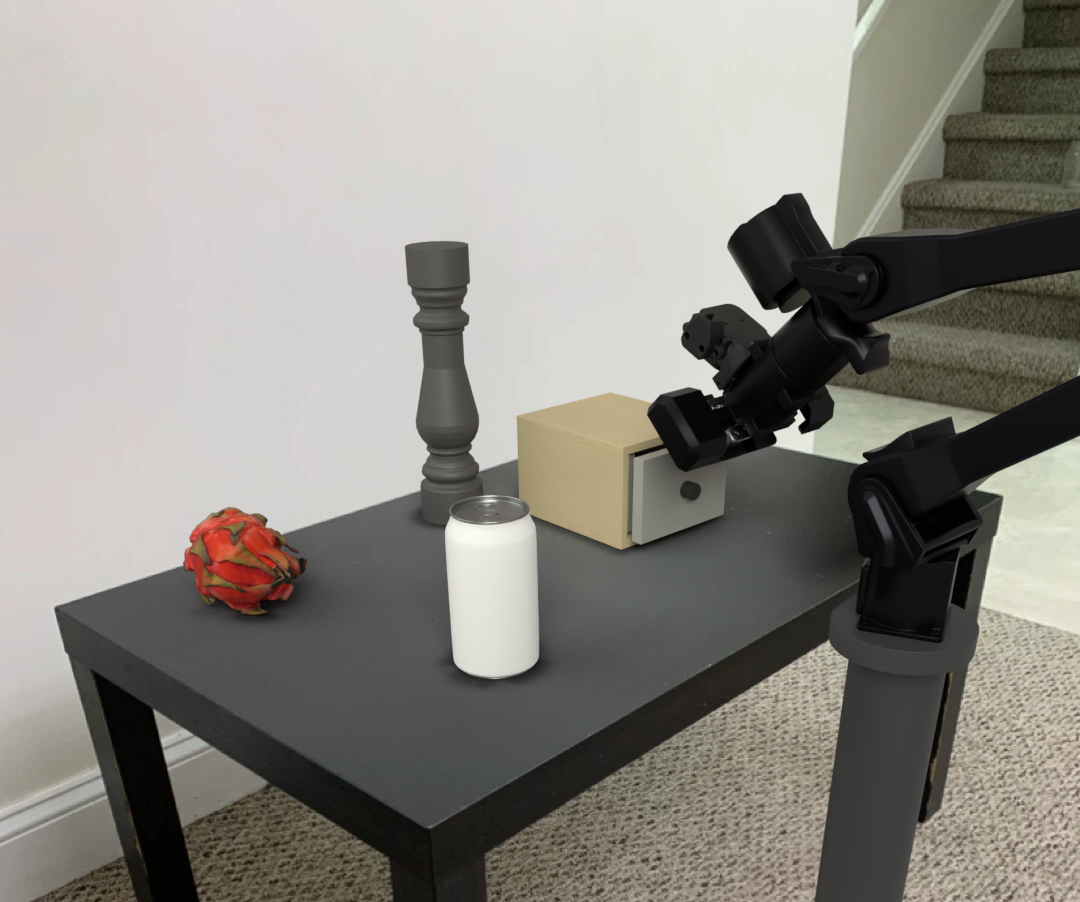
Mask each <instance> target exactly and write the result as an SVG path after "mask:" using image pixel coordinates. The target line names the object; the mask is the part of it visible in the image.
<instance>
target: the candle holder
mask: <svg viewBox="0 0 1080 902" xmlns="http://www.w3.org/2000/svg"><path fill="white" fill-rule="evenodd" d="M469 251H470V250H469V243H468V242H464V241H457V240H456V241H455V240H432V241H431V240H429V241H420V242H418V241H417V242H412V243H409V244H406V245H405V246H404V255H405V268H406V269H405V270H406V281H407V286H409V287H410V289H411V290H410V294H411V296H412V297H413V298H414V300H415V303H416V305H417V306H418V307H419V311H418V312H416V314H414V315H413V317H412V323H413V326H414V327H415V328H417V329H418V332H419V333H420V334H421V335H420V336H421V349H422V361H423V362H422V363H423V367H422V375H421V382H420V389H419V397H418V404H417V409H416V417H415V428H416V430H417V433H418V435H419V437H420V438H421V440H422V441H423V442H424V443H425V444H426V448H425V449H426V451H427V452H428V453H429V455H428V456H427V458H426V459H425V462H424V463H423V464H422V467H421V474H422V476H423V477H424V478H423V479H422V480H421V482H420V485H419V487H420V499H421V512H422V514H421V515H422V518H423V519H424V521H426V522H427V523H429V524H430V523H431V524H433V525H438V526H445V527H446V526H447V524H448V521H449V519H450V516H451V515H450V513H449V509H450V507H451V506H452V505H453V504H454V503H456V502H458V501H460V500H463V499H466V498H470V497H475V496H483V495H484V490H483V489H484V487H483V486H484V485H483V479H482V478H481V477H479V476H478V474H479V473H480V463H478V462H477V461H476V460H475V459H476V458H475V457H474V455H473V454H471V453H470V452H471V450H472V448H473V444H472V442H473V441H474V440H475V438H476V436H477V434H478V432H479V427H480V414H479V411H478V407H477V404H476V400H475V396H474V393H473V390H472V386H471V381H470V379H469V375H468V371H467V367H466V365H465V348H464V332H465V329H466V328H465V327H467V326H468V325H469V323H470V314H468V313H467V312H466V311H465V310H463V309H462V305H463V304H464V302H465V301H464V300H465V297H466V296H467V294H468V290H469V289H468V285H470V283H471V273H470V272H471V270H470V252H469Z"/></svg>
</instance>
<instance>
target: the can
mask: <svg viewBox="0 0 1080 902" xmlns="http://www.w3.org/2000/svg"><path fill="white" fill-rule="evenodd" d="M529 510H530V507H529V505H528V503H527V502H525V501H523V500H521V499H519V497H515V496H510V495H503V494H485V495H484V494H483V496H475V497H470V498H466V499H463V500H460V501H458V502H456V503H454V504H453V505H452V506H451V507H450V509H449V513H450V515H451V516H450V519H449V521H448V524H447V526H446V525H445V530H444V541H445V542H444V544H445V558H446V559H445V560H446V575H447V576H446V578H447V590H448V606H449V618H450V634H451V647H452V657H453V662H454V664H455V665H456V667H457V668H458V669H460V670H461V671H462V672H463V673H464V674H466V675H467V676H470V677H473V678H477V679H481V680H490V681H491V680H493V681H496V680H506V679H510V678H511V679H512V678H516V677H518V676H521V675H523V674H526V673H527V672H528V671H531V669H532V668H533V667H534V666H535V664H537V662H538V661H539V658H540V625H539V624H540V623H539V618H540V617H539V578H538V573H539V571H538V543H537V540H538V539H537V527H536V523H535V522H534V520H533V519H532V515H530V514H529Z"/></svg>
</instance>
